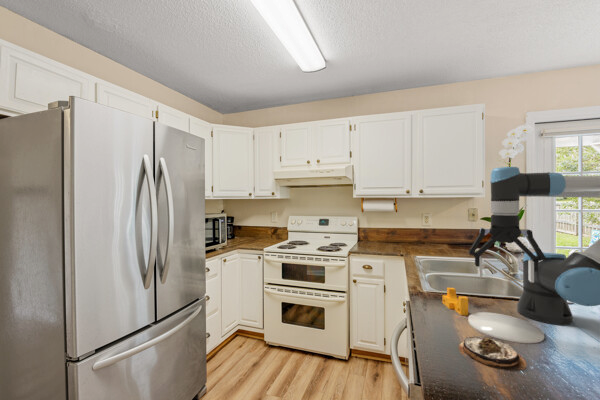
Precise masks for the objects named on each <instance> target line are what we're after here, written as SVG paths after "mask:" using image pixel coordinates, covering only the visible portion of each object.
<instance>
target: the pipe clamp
mask: <svg viewBox="0 0 600 400" xmlns="http://www.w3.org/2000/svg"><path fill="white" fill-rule="evenodd" d="M441 299H442V301H441V302H442V304H443V305H444V306H445V307H446V308H447V309H449V310H453V311H456V313H458V315H460V316H469V297H467V296H461V295H460V296H458V297H457V290H456V288H454V287H446V294H445V295H443V294H442V297H441Z"/></svg>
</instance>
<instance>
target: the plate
mask: <svg viewBox="0 0 600 400" xmlns="http://www.w3.org/2000/svg"><path fill="white" fill-rule="evenodd" d="M467 320H468V324H469V325H470V327H472V328H473V329H474V330H476V331H477V332H480V333H481V334H484V335H487V336H488V337H490V338H491V337H492V338H493V339H494V338H495V339H498V340H501V341H506V342H513V343H518V344H536V343H537V344H538V343H541V342H543V341H544V339H545V333H544V331H543V330H542V329H541V328H540V327H538V326H537V325H534V324H533V323H531V322H529V321H527V320H524V319H521V318H519V317H514V316H511V315H507V314H502V313H497V312H486V311H485V312H484V311H482V312H474V313H471V314H468V319H467Z"/></svg>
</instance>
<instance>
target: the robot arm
mask: <svg viewBox="0 0 600 400" xmlns="http://www.w3.org/2000/svg"><path fill="white" fill-rule="evenodd" d="M520 197H536V198H537V197H539V198H541V197H542V198H543V197H544V198H551V197H552V198H596V199H597V198H599V199H600V175H597V176H596V175H594V176H593V175H584V176H583V175H569V176H568V175H563V174H562V173H559V172H549V171H547V172H529V173H528V172H527V173H524V172H521V171H520V168H519V167H518V166H507V167H506V166H502V167H495V168H493V169H492V170H491V173H490V212H491V213H492V214H491V215H490V228H484V227H480V228H479V232H478V233H479V234H478V235H477V237H476V238H475V240H474V242H473V243H472V245H471V247H470V248H469V250H468V253H469V255H471V256H473V257H474V265H475V267H478V277H479V278H483V257H482V255H483V254H484V253H485V252H486V251H487V250H488V249H490V247H492V245H494V244H495V243H497V242H498V243H501V244H502V243H508V244H512V243H514V244H516V245H517V246H518V247H519V248H520V249H521V250H522V251H523V252H524V254H523V257H522V258H523V259H522V263H523V264H522V267H523V269H522V271H523V273H522V285H523V286H522V293H521V295H520V297H519V298H518V299H519V300H518V301H517V304H516V311H517V312H518V313H519V314H520V315H522V316H523V317H526V318H528V319H531V320H534V321H536V322H537V321H538V322H541V323H547V324H550V325H559V326H564V325H565V326H566V325H568V326H569V325H571V324H573V322H574V320H573V319H574V316H573V312H572V310H571V308H570V306H569V303H568V302H570V303H573V304H576V305H580V306H583V307H596V306H600V238H598V239H597V240H596V241H595V242H593V244H591V245H590V246H589V247H588V248H587V249H585V250H584V251H574V252H572V253H571V254H570V255H568V256H566V254H564V253H556V252H555V253H553V252H543V251H542V249H541V248H540V246H539V245H538V243H537V241H536V240H535V238H534V236H533V231H532V230H530V229H529V228H527V229H524V230H523V229H522V230H521V228H520V216H519V215H518V214H520ZM488 234H489V235H491V237H490V238H489V239H488V240H487V241H486V242H485V243H484V244H483V245H482V246H481V247H480V248H479V249H478V247H479V245H480V244H481V242H482V240H483V239H484V237H485V236H487V235H488ZM521 235H523V236H524V237H525V238H526V239H527V241H528V242H529V244H530V246H531V247H532V249H533V250H534V251H533V252H532V251H531V250H530V249H529V248H528V247H527V246H526V245H525V244H524V243H523V242H522V241H521V240H520V239H519V238H520V236H521ZM477 249H478V250H477Z"/></svg>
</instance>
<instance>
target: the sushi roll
mask: <svg viewBox="0 0 600 400" xmlns="http://www.w3.org/2000/svg"><path fill="white" fill-rule="evenodd" d="M463 340H464V341H462V342H461V343H459V345H458V350H459V352H460V354H462V355H463V357H466V358H467V356H468V357H469V358H470V359H472V360H473V361H477V362H480V363H482V364H485V365H486V366H489V367H492V368H495V369H499V370H500V369H501V370H502V369H504V370H514V369H517V370H521V371H522V370H524V369H525V368H527V363H526V361H525V359H524V357H522V356H521V355H520V354H519V353H518V352H517V351H516V350H515V349H514V348H513V347H512V346H511V345H510V344H509V343H507V342H505V341H504V340H499V339H498V338H496V339H494V337H492V339H491V338H490V337H489V338H488V337H487V336H483V335H482V336H480V335H473V336H466V337H465V338H464V339H463Z"/></svg>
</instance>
